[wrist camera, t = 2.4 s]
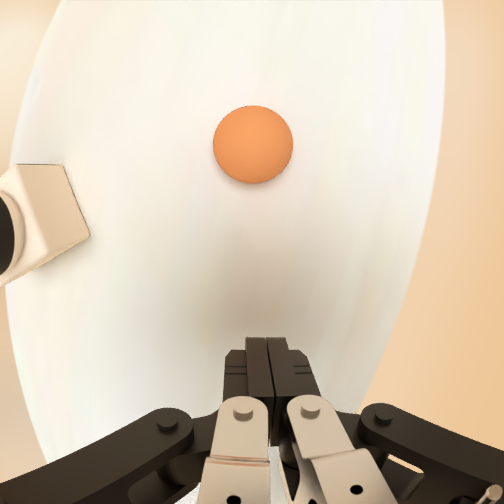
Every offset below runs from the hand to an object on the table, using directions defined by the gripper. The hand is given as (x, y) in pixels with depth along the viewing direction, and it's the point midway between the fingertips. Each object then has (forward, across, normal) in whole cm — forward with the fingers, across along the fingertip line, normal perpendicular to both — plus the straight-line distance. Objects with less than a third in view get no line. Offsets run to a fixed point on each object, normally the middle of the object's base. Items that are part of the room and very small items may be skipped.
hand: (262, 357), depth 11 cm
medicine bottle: (+14, +18, -4) cm, 24 cm away
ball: (+12, 0, -9) cm, 15 cm away
